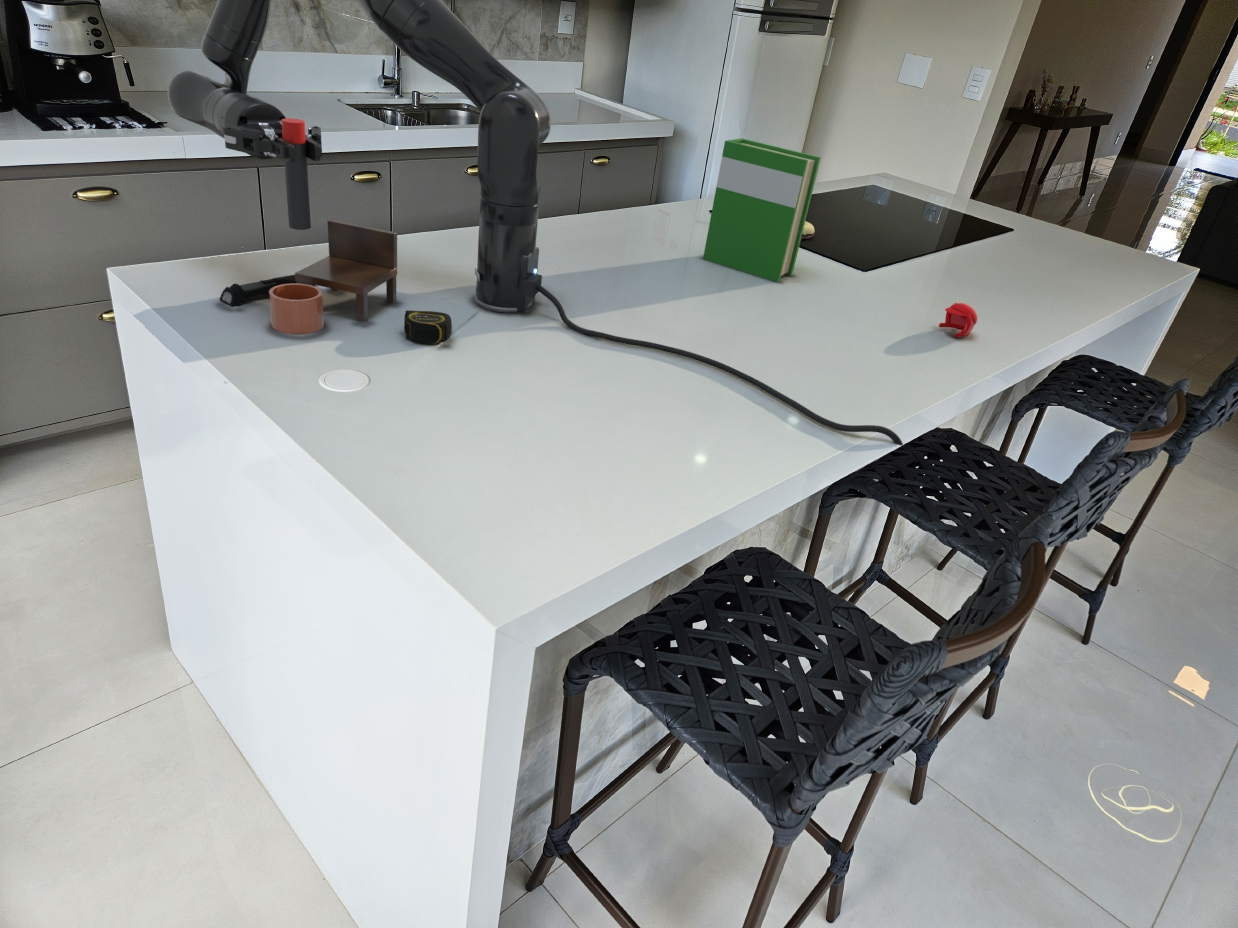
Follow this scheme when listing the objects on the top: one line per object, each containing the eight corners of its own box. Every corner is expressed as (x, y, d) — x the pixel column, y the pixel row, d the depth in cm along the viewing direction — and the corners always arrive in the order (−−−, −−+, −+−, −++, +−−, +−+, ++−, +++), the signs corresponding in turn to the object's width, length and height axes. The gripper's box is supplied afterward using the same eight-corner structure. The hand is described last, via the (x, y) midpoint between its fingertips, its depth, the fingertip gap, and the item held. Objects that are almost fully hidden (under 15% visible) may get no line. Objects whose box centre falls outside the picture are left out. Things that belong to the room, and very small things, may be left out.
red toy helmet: (946, 324, 162) (956, 294, 159) (976, 334, 159) (987, 304, 156) (929, 332, 157) (940, 301, 154) (960, 343, 154) (971, 312, 151)
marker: (314, 226, 116) (308, 121, 109) (303, 231, 114) (297, 123, 107) (296, 222, 117) (289, 117, 110) (285, 227, 114) (276, 120, 107)
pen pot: (333, 325, 124) (331, 289, 121) (307, 341, 118) (304, 304, 115) (289, 315, 125) (287, 280, 122) (261, 331, 119) (258, 294, 116)
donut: (772, 236, 212) (773, 239, 203) (773, 217, 210) (774, 220, 201) (812, 236, 210) (815, 240, 202) (813, 217, 209) (816, 220, 200)
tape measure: (450, 332, 127) (451, 309, 125) (451, 350, 122) (452, 326, 120) (404, 330, 126) (404, 306, 124) (402, 348, 120) (402, 323, 118)
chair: (397, 303, 134) (397, 232, 129) (364, 326, 125) (362, 250, 119) (334, 290, 136) (331, 219, 130) (296, 311, 126) (291, 236, 121)
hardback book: (792, 275, 177) (820, 157, 165) (777, 282, 171) (806, 160, 159) (719, 252, 184) (741, 138, 172) (702, 258, 179) (724, 141, 167)
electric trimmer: (323, 293, 135) (322, 274, 133) (232, 311, 123) (230, 290, 122) (309, 286, 136) (308, 267, 135) (218, 303, 125) (216, 282, 124)
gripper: (195, 96, 112) (247, 123, 102) (297, 97, 121) (354, 122, 111) (202, 154, 116) (253, 186, 106) (300, 151, 125) (356, 180, 114)
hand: (304, 153), depth 108 cm, fingers closed on marker, 3 cm apart
